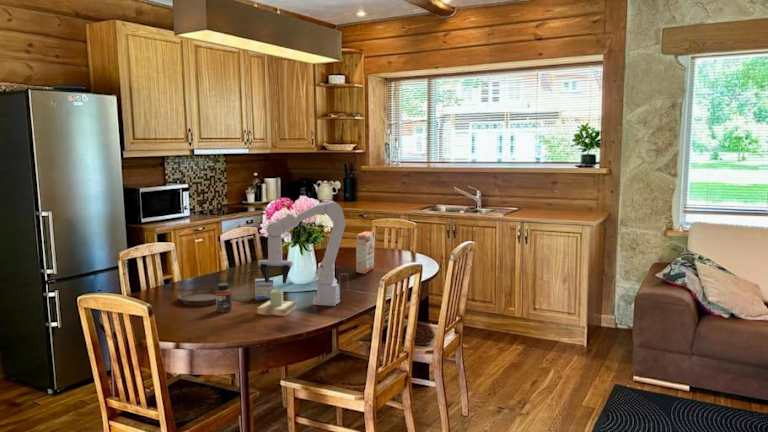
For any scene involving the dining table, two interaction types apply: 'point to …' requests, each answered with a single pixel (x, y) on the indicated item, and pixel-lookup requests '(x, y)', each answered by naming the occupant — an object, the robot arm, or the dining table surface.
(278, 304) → the block
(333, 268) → the robot arm
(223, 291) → the supplement bottle
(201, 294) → the plant saucer
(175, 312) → the dining table surface
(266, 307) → the plinth
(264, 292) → the medicine box
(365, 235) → the cracker box
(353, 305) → the dining table surface
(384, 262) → the dining table surface
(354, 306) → the dining table surface
